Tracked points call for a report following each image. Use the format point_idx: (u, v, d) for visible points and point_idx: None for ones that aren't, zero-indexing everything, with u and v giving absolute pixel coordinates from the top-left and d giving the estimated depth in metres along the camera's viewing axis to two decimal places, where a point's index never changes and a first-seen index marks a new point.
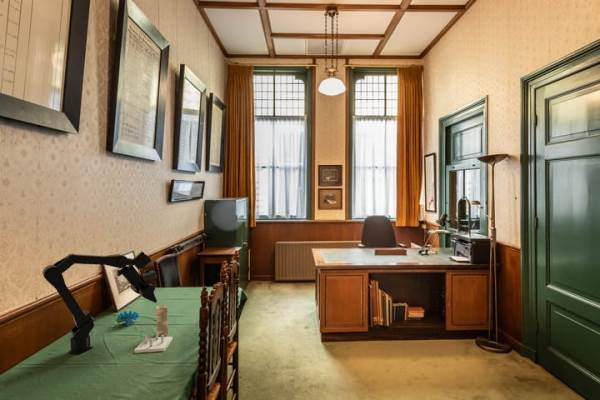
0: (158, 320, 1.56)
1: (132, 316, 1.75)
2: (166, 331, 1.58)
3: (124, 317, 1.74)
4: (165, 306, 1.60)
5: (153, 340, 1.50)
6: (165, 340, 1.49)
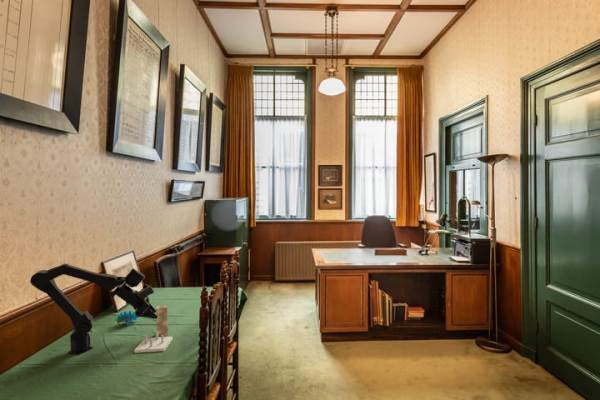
0: (158, 320, 1.56)
1: (132, 316, 1.75)
2: (166, 331, 1.58)
3: (124, 317, 1.74)
4: (165, 306, 1.60)
5: (153, 340, 1.50)
6: (165, 340, 1.49)
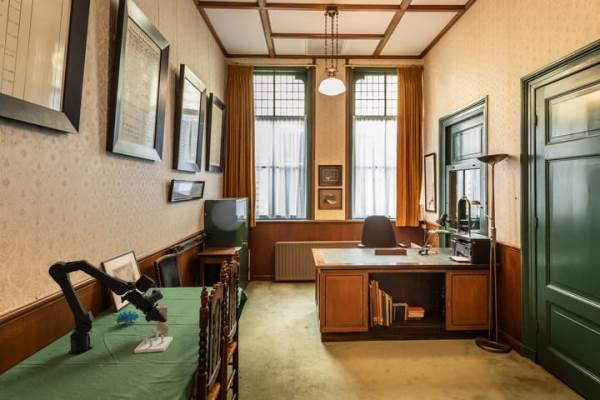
0: None
1: (132, 316, 1.75)
2: (166, 331, 1.58)
3: (124, 317, 1.74)
4: (165, 306, 1.60)
5: (153, 340, 1.50)
6: (165, 340, 1.49)
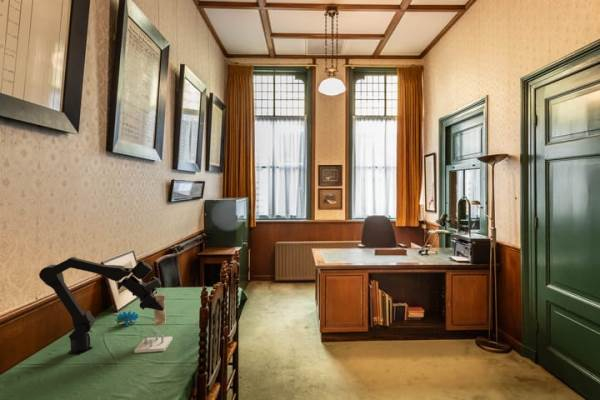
0: None
1: (131, 316, 1.74)
2: (163, 320, 1.53)
3: (124, 317, 1.73)
4: (163, 294, 1.55)
5: (153, 340, 1.50)
6: (165, 340, 1.49)
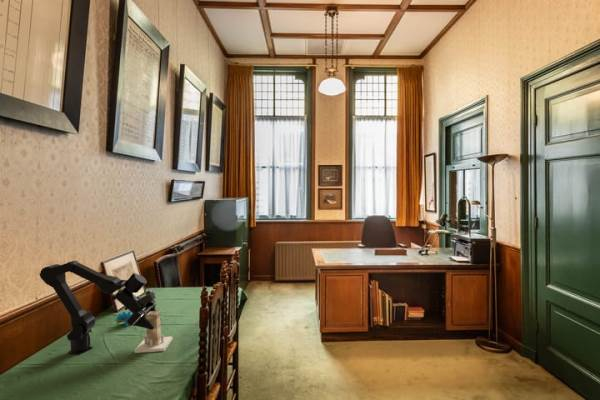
0: None
1: None
2: (156, 340, 1.45)
3: (123, 317, 1.73)
4: (156, 312, 1.47)
5: None
6: (165, 340, 1.49)
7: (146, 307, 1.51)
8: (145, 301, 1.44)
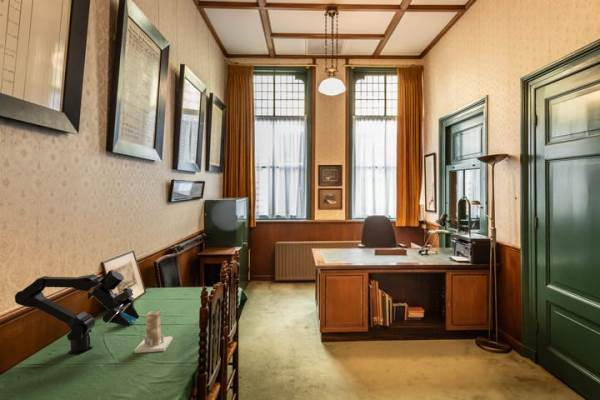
0: (147, 327, 1.45)
1: (131, 317, 1.74)
2: (156, 340, 1.45)
3: None
4: (156, 313, 1.47)
5: None
6: (165, 340, 1.49)
7: (124, 304, 1.50)
8: (122, 298, 1.44)
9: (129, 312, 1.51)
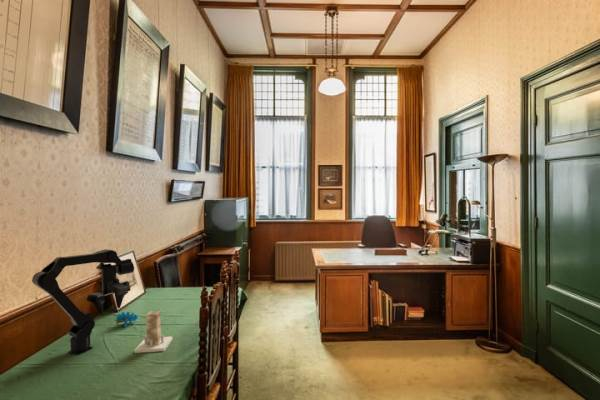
0: (147, 327, 1.45)
1: (131, 317, 1.74)
2: (156, 340, 1.45)
3: (123, 318, 1.73)
4: (156, 313, 1.47)
5: None
6: (165, 340, 1.49)
7: None
8: (114, 291, 1.51)
9: (117, 298, 1.60)
